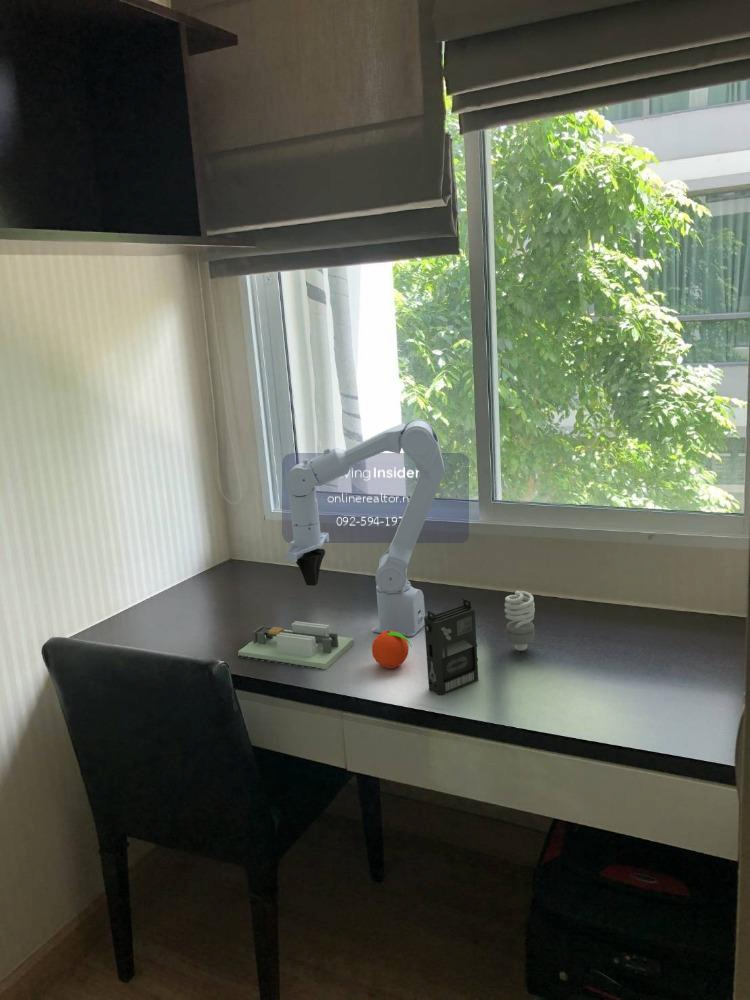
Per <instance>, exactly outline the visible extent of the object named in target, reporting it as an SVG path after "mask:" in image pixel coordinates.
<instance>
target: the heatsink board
mask: <svg viewBox="0 0 750 1000" xmlns="http://www.w3.org/2000/svg"><path fill="white" fill-rule="evenodd" d="M264 628H265V629H271V628H273V626H267V625H265V626H264V625H260V626H259V627H257V628H255V630H252V632H251V634H252V641H250V642H249V643H247V644H246V645H245V646H243V647H242V648H240V649H239V650H238V651H237V652H238V656H239V655H242V656H243V655H244V656H248V657H254V658H261V659H269V660H276V661H282V662H289V663H295V664H301V665H306V666H312V667H317V668H316V669H318V668H322V669H321V670H324V669H326V670H327V669H329V667H330V666H331V665H333V664H334V663H335V662H336V661H337V660H338V659H339V658H340V657H342V655H344V654H345V653H346V652H347V651H348V650H349V649H350V648H352V646H353V645H354V644H355V638H353V637H345V636H338V633H336V632H331V627H330V625H329V624H322V623H313V622H305V621H298V620H294V621H293V623H291V629H284V631H289V632H297V633H305V634H313V635H321V636H329V637H331V636H333V637H334V640H333V641H332V642H330V639H324V638H323V639H322V643H321V642H316V641H315V637H312V636H305V635H297V634H289V633H281V632H280V633H279V634H277V635H276V637H275V636H267V635H265V633H263V632H260V631H261V630H262V629H264Z"/></svg>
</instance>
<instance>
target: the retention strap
mask: <svg viewBox="0 0 750 1000" xmlns="http://www.w3.org/2000/svg"><path fill="white" fill-rule="evenodd" d="M284 630H285V629H284V627H278V626H272V628H271V629H265V627H264V629H262V630H261V631H260V632H263V633H265V635H267V636H275V637H276V635H277V634H279V633H280V632H281V633H289V634H297V635H305V636H312V637H315V641H316V642H321V643H322V639H323V638H324V639H330V642H332V641H333V640H334V637H333V636H331V637H329V636H321V635H313V634H305V633H297V632H289V631H284Z"/></svg>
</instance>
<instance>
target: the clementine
mask: <svg viewBox="0 0 750 1000" xmlns="http://www.w3.org/2000/svg"><path fill="white" fill-rule="evenodd" d="M409 645H410V647H412V645H411V642H410V640H409V639H408V638H407V636H403V635H402V634H400V633H398V632H396V631H384V632H382V633H379V634H378V635H376V637H375V639H374V640H373V642H372V645H371V646H372V647H371V654H372V656H373V659H374V660H375V662H376V663H377V664H378V665H380V666H381V667H383V668H387V669H394V668H397V667H400V666H401V665H402V664H403V663H404V662H405V661H406V659H407V658H408V655H409Z"/></svg>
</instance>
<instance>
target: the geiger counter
mask: <svg viewBox="0 0 750 1000" xmlns="http://www.w3.org/2000/svg"><path fill="white" fill-rule="evenodd" d="M462 601H463V602H462V603H460V604H458V606H455V607H452V608H450V609H446V610H445V611H444V610H443V611H441V612H438V613H435V612H433V611H431V610H426V612H427V613H426V614H427V615H425V617H424V624H425V625H424V636H425V637H424V639H425V650H426V663H427V664H426V665H427V679H428V690H429V691H430V692H432V693H433V694H435V695H437V696H442V697H443V696H444V695H447V694H450V693H452V692H454V691H456V690H459V689H461V688H464V687H466V686H468V685H471V684H473V683H475V682H479V667H478V665H479V664H478V660H479V658H478V649H477V648H478V643H477V627H476V608H475V607H472V603H471V600H470V599H467V598H465V597H464V598H463V599H462Z"/></svg>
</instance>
